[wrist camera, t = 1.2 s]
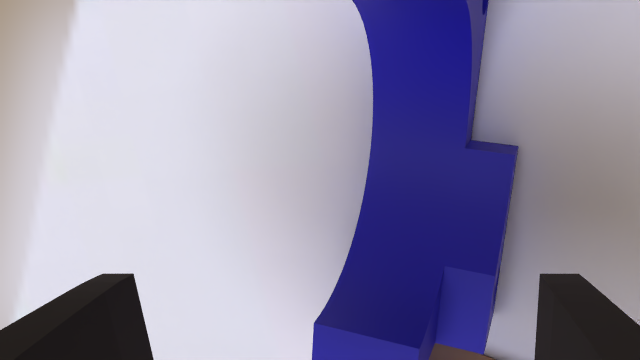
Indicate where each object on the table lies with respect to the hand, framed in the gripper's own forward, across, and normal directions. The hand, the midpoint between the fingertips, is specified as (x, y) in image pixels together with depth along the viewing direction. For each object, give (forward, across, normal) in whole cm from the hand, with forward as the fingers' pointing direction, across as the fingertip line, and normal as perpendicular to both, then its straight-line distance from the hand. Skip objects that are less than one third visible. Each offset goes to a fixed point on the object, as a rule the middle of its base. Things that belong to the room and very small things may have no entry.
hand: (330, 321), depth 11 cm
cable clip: (+11, -3, 0) cm, 11 cm away
